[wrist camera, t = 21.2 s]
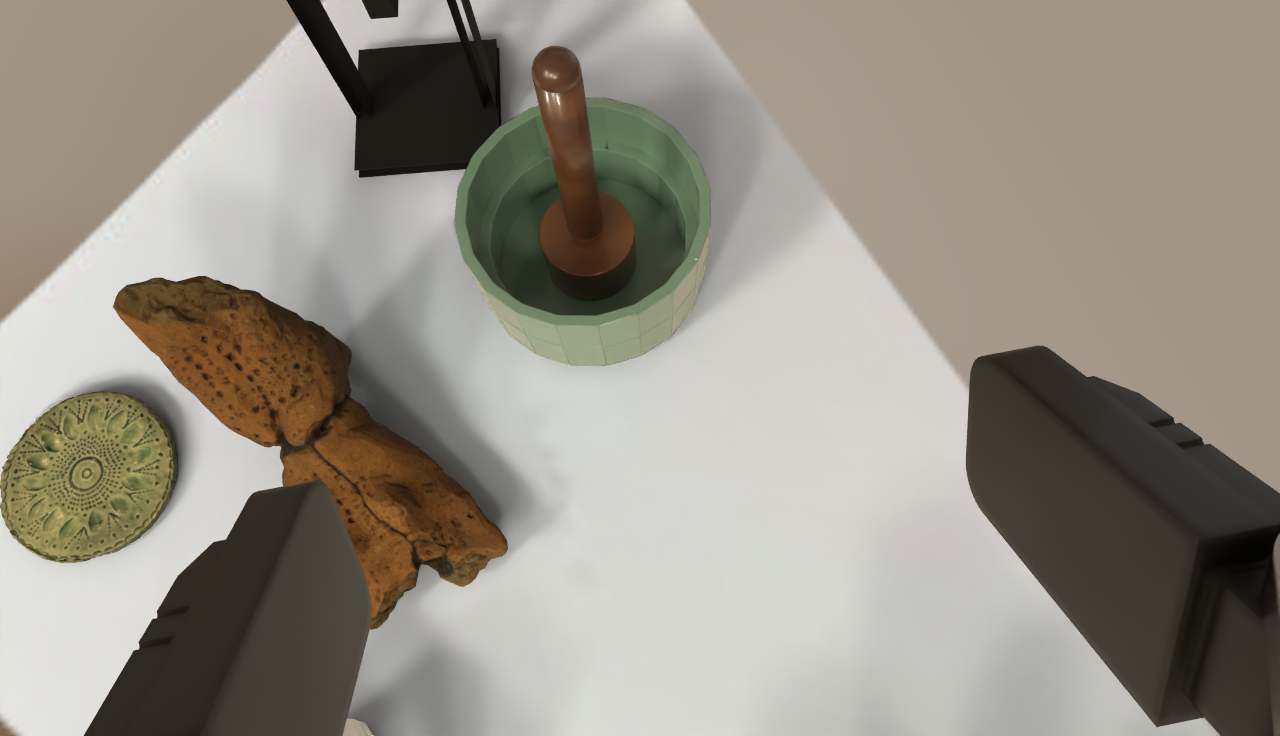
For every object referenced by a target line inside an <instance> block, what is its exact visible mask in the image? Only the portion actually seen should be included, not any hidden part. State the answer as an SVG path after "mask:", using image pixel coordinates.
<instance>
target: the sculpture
mask: <svg viewBox="0 0 1280 736" xmlns="http://www.w3.org/2000/svg"><path fill="white" fill-rule="evenodd" d="M113 307H114V309H115V310H116V312H117V314H118V315H119V317H120V318H121V319H122V320H123V321H124V323H125V324H126V325H127V326H128V327H129V328H130V329H131V330H132V331H133V332H134V333H135V335H136V336H137V337H138V338H139V339H140V340H141V341H142V342H143V343H144V344H145V345H146V346H147V347H148V348H149V349H150V350H151V351H152V352H154V353H155V354H156V355H158V356H159V357H160V359H161V360H162V362H163V363H164V364H165V366H166V367H167V368H168V369H169V370H170V372H171V373H172V374H173V376H174V377H175V378H176V379H177V380H178V382H179V383H181V384H182V385H183V386H184V387H185V388H187V389H188V390H189V391H190V392H192V393H193V394H194V395H195V396H196V397H197V398H198V399H199V400H200V402H201V403H202V404H203V405H204V406H205V407H206V408H207V409H208V410H209V411H210V412H211V413H213V414H214V415H215V416H216V417H217V418H218V419H219V420H220V421H221V422H222V423H223V424H224V425H225V426H227V427H228V428H229V429H231V430H232V431H234V432H236V433H237V434H239V435H242V436H244V437H246V438H248V439H250V440H252V441H254V442H256V443H258V444H260V445H262V446H264V447H271V446H281V447H282V448H281V452H280V459H281V461H282V463H283V465H284V470H283V474H282V480H283V487H284V486H289V485H294V484H300V483H305V482H310V481H316V480H320V481H322V482H324V483H325V484H326V485H327V487H328V488H329V490H330V491H331V493H332V495H333V497H334V500H335V502H336V505H337V507H338V510H339V512H340V515H341V517H342V519H343V522H344V524H345V527H346V529H347V532H348V534H349V537H350V539H351V541H352V544H353V546H354V549H355V551H356V554H357V556H358V559H359V561H360V564H361V566H362V568H363V571H364V573H365V576H366V579H367V583H368V587H369V592H370V599H371V623H370V629H376V628H378V627H379V626H381V625H382V624H383V623H384V622H385V621H386V620H387V619H388V617H389V614H390V613H391V612H392V611H393V610H394V608H395V606H396V603H397V601H398V600H399V599H400V598H401V597H402V596H403V593H404V592H405V591H409V590H411V589H413V588H414V587H415V586H416V582H417V577H418V571H419V568H420V565H421V564H425V565H429V566H430V567H432V568H433V569H435V570H436V571H438V573H439V575H440V577H441V578H443V579H445V580H447V581H449V582H451V583H454V584H456V585H458V586H461V587H463V586H465V585H467V584H470V583H471V582H472V581H473V580H474V579H475V578H476V577H477V574H478V572H479V570H481V569H483V568H485V567H486V565H487V563H488V561H489V560H490V559H492V558H496V557H500V556H503V555H504V554H505V553H506V551H507V550H508V546H507V540H506V538H505V537H504V535H503V533H502V532H501V530H500V529H499V528H498V527H497V526H496V525H495V524H494V523H493V522H491V521H490V520H488V519H487V518H486V516H485V515H484V514H483V513H482V511H481V510H480V508H479V507H478V506H477V504H476V503H475V501H474V499H473V498H472V496H471V495H470V493H469V492H467V491H466V490H465V489H464V488H463V487H462V486H461V485H459V484H458V483H457V482H456V481H454V480H453V479H452V478H450V477H449V476H448V475H446V474H445V473H444V471H443V469H442V468H441V467H440V466H439V465H438V464H437V463H436V462H435V461H434V460H433V459H432V458H431V457H429V456H428V455H427V454H426V453H424V452H423V451H422V450H420V449H419V448H418V447H416V446H415V445H413V444H412V443H410V442H409V441H407V440H405V439H404V438H402V437H400V436H398V435H397V434H395V433H394V432H392V431H391V430H389V429H388V428H386V427H385V426H383V425H380V424H378V423H377V422H376V421H375V420H374V419H372V418H371V416H370V415H369V413H368V412H367V410H366V409H365V407H363V406H362V405H361V404H359V403H357V402H356V401H354V400H353V399H352V398H350V393H351V391H352V390H351V388H350V382H349V379H348V373H347V372H348V367H349V365H350V362H351V359H352V352H351V350H350V349H349V348H348V346H346V345H345V344H344V343H343V342H342V341H340V340H339V339H337V338H336V337H334V336H333V335H332V334H331V333H330V332H328V331H327V330H326V329H325V328H324V327H322V326H319V325H317V324H316V323H314V322H312V321H306V320H304V319H303V318H301V317H300V316H299V315H298V314H297V313H295V312H292V311H290V310H288V309H285V308H283V307H281V306H279V305H277V304H275V303H273V302H271V301H269V300H268V299H266V298H264V297H263V296H262V295H261V294H260V293H258V292H256V291H251V290H240V289H239V288H237V287H235V286H232V285H230V284H224V283H222V282H220V281H218V280H213V279H211V278H209V277H206V276H197V277H193V278H189V279H186V280H182V281H178V282H174V281H170V280H166V279H164V278H153V279H150V280H147V281H145V282H141V283H136V284H130V285H126V286H125V287H124V288H123V289H122V290H121V291H119V293H118V294H117V296H116V299H115V302H114V306H113Z"/></svg>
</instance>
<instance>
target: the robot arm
mask: <svg viewBox="0 0 1280 736" xmlns="http://www.w3.org/2000/svg"><path fill="white" fill-rule="evenodd" d="M1173 419H1174V418H1173V417H1172V416H1170V415H1169V414H1167V413H1166V412H1165V411H1163V410H1162V409H1160V408H1159V407H1158V406H1156V405H1155V404H1153V403H1152V402H1151V401H1149V400H1148V399H1146V398H1145V397H1144V396H1142V395H1141V394H1139V393H1137V392H1134V391H1131V390H1129V389H1126V388H1124V387H1121V386H1118V385H1116V384H1113V383H1110V382H1108V381H1105V380H1103V379H1100V378H1098V377H1095V376H1092V377H1086V376H1085V375H1083V374H1082V373H1081V372H1079V371H1078V370H1077V369H1075V368H1074V367H1073V366H1071V365H1070V364H1069V363H1067V362H1066V361H1065V360H1063V359H1062V358H1061V357H1059V356H1058V355H1057V354H1056V353H1054V352H1053V351H1051V350H1050V349H1048V348H1047V347H1044V346H1033V347H1028V348H1023V349H1018V350H1012V351H1007V352H1002V353H996V354H991V355H986V356H981V357H978V358H977V359H976V360H975V362H974V363H973V366H972V369H971V373H970V388H969V408H968V428H967V447H966V471H967V477H968V481H969V485H970V488H971V491H972V494H973V496H974V499H975V501H976V503H977V504H978V506H979V508H980V509H981V511H982V512H983V513H984V515H985V516H986V517H987V518H988V520H989V521H990V522H991V523H992V525H993V526H994V527H995V528H996V529H997V531H998V532H999V533H1000V534H1001V536H1002V537H1003V538H1004V539H1005V541H1006V542H1007V543H1008V544H1009V546H1010V547H1011V548H1012V549H1013V550H1014V552H1015V553H1016V554H1017V555H1018V557H1019V558H1020V559H1021V560H1022V562H1023V563H1024V564H1025V565H1026V566H1027V568H1028V569H1029V570H1030V571H1031V573H1032V574H1033V575H1034V576H1035V578H1036V579H1037V580H1038V581H1039V582H1040V584H1041V585H1042V586H1043V587H1044V589H1045V590H1046V591H1047V592H1048V594H1049V595H1050V596H1051V597H1052V599H1053V600H1054V601H1055V602H1056V603H1057V605H1058V606H1059V607H1060V608H1061V610H1062V611H1063V612H1064V613H1065V615H1066V616H1067V617H1068V618H1069V619H1070V621H1071V622H1072V623H1073V624H1074V626H1075V627H1076V628H1077V629H1078V631H1079V632H1080V633H1081V634H1082V636H1083V637H1084V638H1085V639H1086V640H1087V642H1088V643H1089V644H1090V645H1091V647H1092V648H1093V649H1094V650H1095V652H1096V653H1097V654H1098V655H1099V656H1100V658H1101V659H1102V660H1103V661H1104V663H1105V664H1106V665H1107V666H1108V668H1109V669H1110V670H1111V671H1112V672H1113V674H1114V675H1115V676H1116V677H1117V679H1118V680H1119V681H1120V682H1121V684H1122V685H1123V686H1124V687H1125V689H1126V690H1127V691H1128V692H1129V693H1130V695H1131V696H1132V697H1133V698H1134V700H1135V701H1136V702H1137V703H1138V705H1139V706H1140V707H1141V708H1142V709H1143V711H1144V712H1145V713H1146V714H1147V716H1148V717H1149V718H1150V719H1151V721H1152V722H1153V723H1154V724H1155V725H1156V727H1159V726H1164V725H1169V724H1174V723H1179V722H1184V721H1188V720H1193V719H1198V718H1203V717H1205V718H1206V720H1207V721H1208V722H1209V723H1210V724H1211V725H1212V726H1213V728H1214V729H1215V730H1216V731H1217V732H1218V733H1219V734H1220V736H1280V493H1278V492H1277V491H1275V490H1274V489H1273V488H1271V487H1270V486H1268V485H1267V484H1266V483H1264V482H1263V481H1261V480H1260V479H1259V478H1257V477H1256V476H1254V475H1253V474H1252V473H1250V472H1249V471H1247V470H1246V469H1245V468H1243V467H1242V466H1240V465H1239V464H1238V463H1236V462H1235V461H1233V460H1232V459H1230V458H1229V457H1228V456H1226V455H1225V454H1224V453H1222V452H1221V451H1219V450H1218V449H1217V448H1215V447H1214V446H1212V445H1211V444H1206V445H1204V443H1203V441H1202V438H1201V437H1200V436H1198V435H1197V434H1196V433H1194V432H1193V431H1191V430H1190V429H1189V428H1187V427H1186V426H1184V425H1183V424H1181V423H1177V424H1175V423H1174V420H1173ZM157 615H158V616H157V619H152V621H151V622H150V624H149V626H148V628H147V629H146V631H145V633H144V634H143V636H142V638H141V639H140V641H139V645H140V648H139V650H134V651H133V653H132V655H131V656H130V658H129V660H128V662H127V663H126V665H125V667H124V668H123V670H122V672H121V673H120V675H119V677H118V678H117V680H116V682H115V684H114V685H113V687H112V689H111V690H110V692H109V694H108V695H107V697H106V699H105V701H104V702H103V704H102V706H101V707H100V709H99V711H98V712H97V714H96V716H95V717H94V719H93V721H92V723H91V724H90V726H89V728H88V729H87V731H86V733H85V734H84V736H343V732H344V728H345V724H346V720H347V716H348V712H349V708H350V704H351V700H352V696H353V692H354V688H355V684H356V681H357V677H358V673H359V669H360V665H361V661H362V657H363V653H364V649H365V645H366V641H367V637H368V633H369V629H370V623H371V599H370V592H369V587H368V583H367V579H366V576H365V573H364V571H363V568H362V566H361V564H360V561H359V559H358V556H357V554H356V551H355V549H354V546H353V544H352V541H351V539H350V537H349V534H348V532H347V529H346V527H345V524H344V522H343V519H342V517H341V515H340V512H339V510H338V507H337V505H336V502H335V500H334V497H333V495H332V493H331V491H330V490H329V488H328V487H327V485H326V484H325V483H324V482H322V481H320V480H316V481H310V482H305V483H300V484H294V485H289V486H284V487H279V488H273V489H268V490H263V491H257V492H255V493H253V494H252V495H251V496H250V497H249V499H248V500H247V502H246V504H245V506H244V508H243V510H242V511H241V513H240V515H239V517H238V519H237V521H236V522H235V524H234V526H233V528H232V530H231V532H230V534H229V535H228V537H227V539H226V540H222V541H217V542H213V543H212V544H211V545H210V546H209V547H208V548H207V549H206V550H205V551H204V552H203V553H202V554H201V555H200V556H199V557H197V558H196V559H195V560H194V561H193V562H192V563H191V564H190V565H189V566H188V567H187V568H186V569H185V570H184V571H183V572H182V573H181V574H179V575H178V577H177V578H176V580H175V582H174V583H173V585H172V587H171V589H170V590H169V592H168V594H167V595H166V597H165V599H164V600H163V602H162V604H161V606H160V607H159V609H158V611H157Z"/></svg>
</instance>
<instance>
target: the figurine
mask: <svg viewBox="0 0 1280 736" xmlns="http://www.w3.org/2000/svg"><path fill="white" fill-rule="evenodd" d="M343 736H374V735H373V734H372V733H371V731H370V730H369V729H368V726H367V725H366V723H365V722H361V721H357V720H355V719H354V718H353V719H348V718H347V720H346V724H345V728H344V732H343Z"/></svg>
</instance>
